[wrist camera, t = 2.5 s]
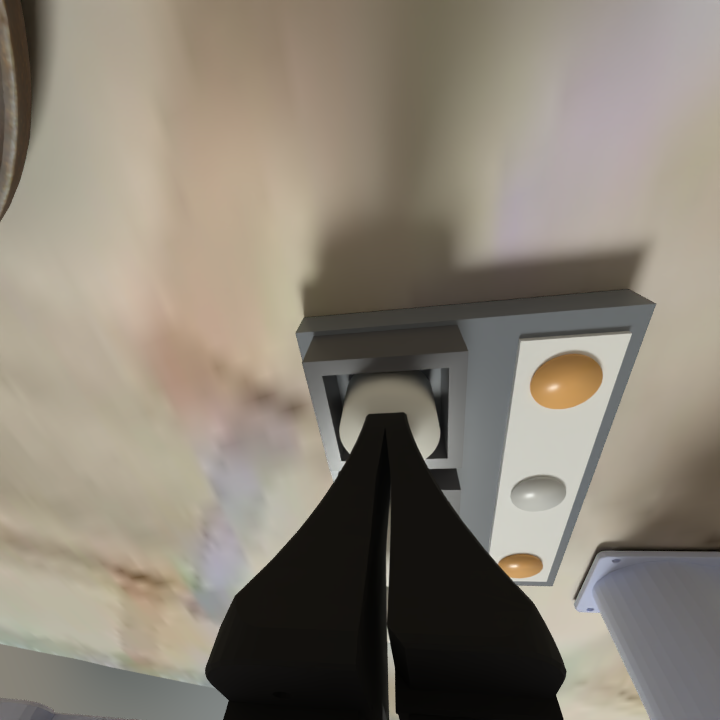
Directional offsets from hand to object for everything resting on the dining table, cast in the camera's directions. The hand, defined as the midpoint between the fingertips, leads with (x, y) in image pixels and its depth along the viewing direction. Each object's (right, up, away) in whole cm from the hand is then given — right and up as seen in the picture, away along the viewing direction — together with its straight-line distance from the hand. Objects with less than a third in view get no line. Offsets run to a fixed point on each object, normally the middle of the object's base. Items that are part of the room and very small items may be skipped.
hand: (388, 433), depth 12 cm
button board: (+4, -4, +7) cm, 9 cm away
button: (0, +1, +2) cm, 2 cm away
